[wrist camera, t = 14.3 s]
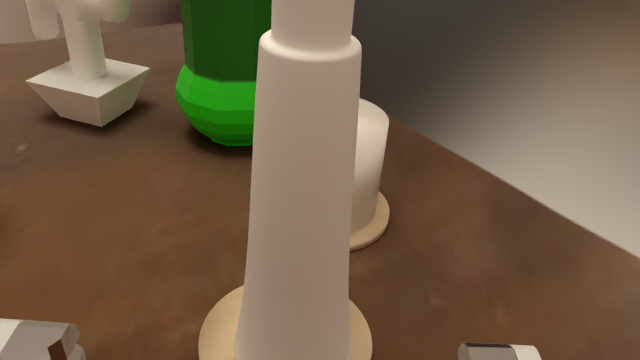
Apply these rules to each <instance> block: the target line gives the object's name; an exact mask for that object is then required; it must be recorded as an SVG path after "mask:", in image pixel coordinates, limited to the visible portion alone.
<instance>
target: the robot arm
mask: <svg viewBox="0 0 640 360" xmlns="http://www.w3.org/2000/svg"><path fill="white" fill-rule="evenodd" d="M79 335H80V334H79V331H78V328H77V325H76V324H71V323H58V322H45V321H32V320H16V319H0V360H86V357H85V353H84V349H83V348H81V347H80V346H79V345H78V344H77V343H76V342H77V340H78V338H79ZM458 358H459V360H541V357H540V355H539V353H538V350H537V349H536V348H535V347H534V346H526V345H508V344H490V343H462V344H461V345H460V348H459V351H458Z"/></svg>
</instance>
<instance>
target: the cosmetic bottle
mask: <svg viewBox="0 0 640 360" xmlns="http://www.w3.org/2000/svg"><path fill="white" fill-rule="evenodd" d="M353 11H354V0H272V16H271V30H269V31H267V32H266V33H264V34H263V35H262V36H261V38H260V41H259V51H258V66H257V80H256V95H255V113H254V132H253V153H252V175H251V197H250V216H249V234H248V249H247V262H246V272H245V282H244V290H243V298H242V304H241V310H240V315H239V320H238V325H237V329H236V333H235V337H234V343H233V350H234V356H235V360H350V359H351V355H352V340H351V332H350V322H349V299H348V278H349V247H350V230H351V214H352V199H353V185H354V171H355V157H356V142H357V127H358V110H359V92H360V71H361V44H360V42H359V41H358V40H357V39H356V38H355V37H354V36H352V35H351V30H352V21H353Z"/></svg>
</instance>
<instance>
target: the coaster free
mask: <svg viewBox="0 0 640 360" xmlns="http://www.w3.org/2000/svg"><path fill="white" fill-rule="evenodd" d="M243 290H244V285H243V286H241V287H239V288H237V289H235V290H233V291H232V292H230V293H229V294H227V295H226V296H225V297H224V298H222V299H221V300H220V301H219V302H218V303H217V304H216V305H215V306H214V307H213V308H212V310H211V311H210V312H209V314H208V315H207V317H206V319H205V321H204V323H203V325H202V328H201V331H200V336H199V360H235V356H234V350H233V343H234V337H235V333H236V329H237V325H238V320H239V315H240V310H241V304H242V298H243ZM349 322H350V332H351V340H352V355H351V359H350V360H371V355H372V338H371V333H370V330H369V327H368V324H367V322H366V320H365V318H364V316H363V315H362V313H361V312H360V310H359V309H358V308H357V307H356V306H355V304H354V303H353V302H352V301H350V300H349Z"/></svg>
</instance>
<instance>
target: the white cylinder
mask: <svg viewBox="0 0 640 360" xmlns="http://www.w3.org/2000/svg"><path fill="white" fill-rule="evenodd" d="M388 126H389V120H388V117H387V115H386V114H385V112H384V111H383V110H382V109H380V108H379V107H377V106H376V105H374V104H372V103H370V102H368V101H366V100H363V99H360V98H359V110H358V127H357V142H356V157H355V171H354V185H353V199H352V214H351V230H350V234H352V233H355V232H357V231H359V230H361V229H363V228H365V227H366V226H367V225H368V224H369V223H370V222H371V221H372V220H373V218H374V216H375V211H376V204H377V198H378V191H379V185H380V178H381V172H382V165H383V158H384V152H385V145H386V139H387V132H388Z"/></svg>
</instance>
